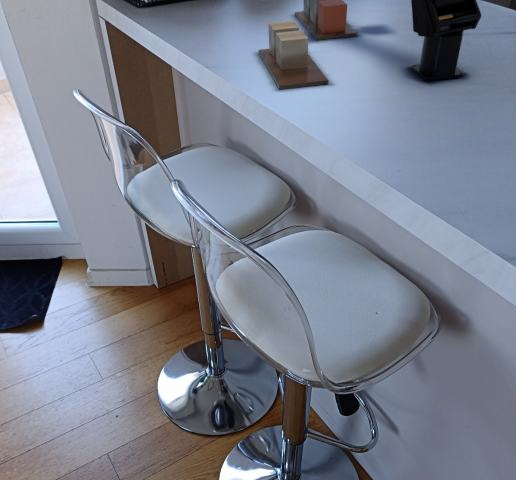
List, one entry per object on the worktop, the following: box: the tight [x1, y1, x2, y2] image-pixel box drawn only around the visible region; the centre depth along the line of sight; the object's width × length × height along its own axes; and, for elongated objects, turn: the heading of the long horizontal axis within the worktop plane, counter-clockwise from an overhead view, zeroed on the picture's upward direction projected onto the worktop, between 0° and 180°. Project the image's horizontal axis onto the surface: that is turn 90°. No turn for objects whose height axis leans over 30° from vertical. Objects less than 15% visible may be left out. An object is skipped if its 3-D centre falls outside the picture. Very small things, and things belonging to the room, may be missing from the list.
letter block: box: [317, 0, 348, 33], centre depth 103 cm, size 4×4×4 cm
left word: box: [258, 19, 329, 90], centre depth 90 cm, size 19×8×5 cm, turn 10°
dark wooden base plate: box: [294, 0, 358, 41], centre depth 107 cm, size 19×8×5 cm, turn 10°
